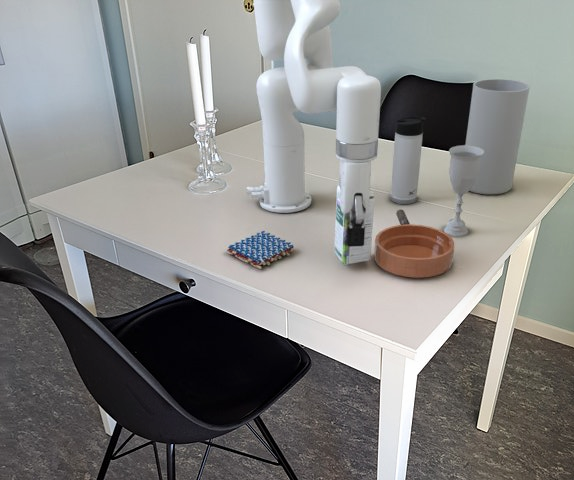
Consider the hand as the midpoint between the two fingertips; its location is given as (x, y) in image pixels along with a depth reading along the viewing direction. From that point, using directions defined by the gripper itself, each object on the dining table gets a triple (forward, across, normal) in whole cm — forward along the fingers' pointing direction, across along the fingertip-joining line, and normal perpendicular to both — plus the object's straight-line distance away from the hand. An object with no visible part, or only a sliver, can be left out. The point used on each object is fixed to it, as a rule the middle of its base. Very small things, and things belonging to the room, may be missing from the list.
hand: (353, 236), depth 118 cm
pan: (+6, 0, +12) cm, 13 cm away
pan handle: (+3, -11, +12) cm, 17 cm away
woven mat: (+6, -5, -18) cm, 20 cm away
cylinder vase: (+6, -38, +38) cm, 54 cm away
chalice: (+6, -13, +24) cm, 28 cm away
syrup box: (+5, 0, 0) cm, 5 cm away
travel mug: (+6, -31, +16) cm, 35 cm away
